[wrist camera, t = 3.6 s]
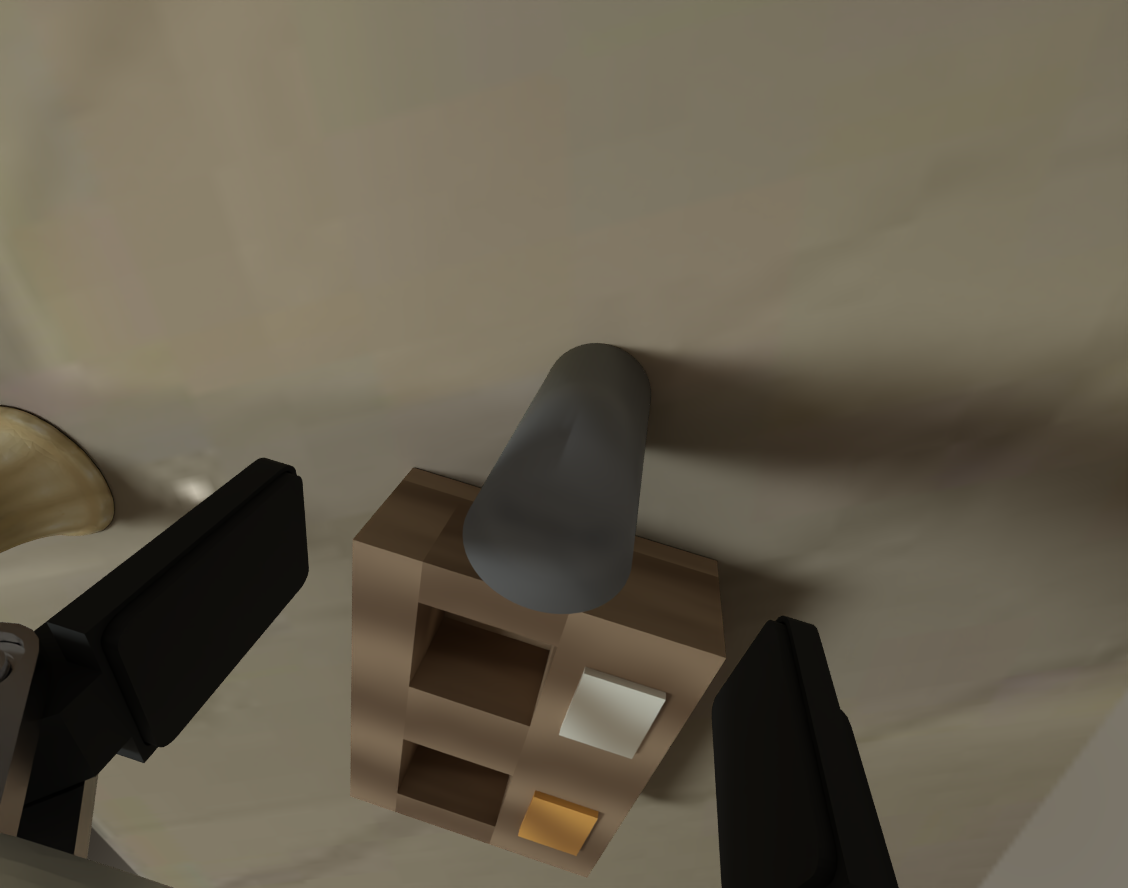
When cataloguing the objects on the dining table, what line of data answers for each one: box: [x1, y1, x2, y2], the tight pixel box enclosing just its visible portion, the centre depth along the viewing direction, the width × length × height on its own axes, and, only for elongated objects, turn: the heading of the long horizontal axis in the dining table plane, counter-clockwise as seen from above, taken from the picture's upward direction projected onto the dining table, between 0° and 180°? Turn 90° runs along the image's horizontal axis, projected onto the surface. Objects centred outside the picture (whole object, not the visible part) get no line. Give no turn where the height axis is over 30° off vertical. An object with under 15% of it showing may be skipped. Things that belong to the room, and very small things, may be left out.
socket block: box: [350, 468, 726, 877], centre depth 26 cm, size 20×14×5 cm
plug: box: [463, 343, 651, 614], centre depth 16 cm, size 4×4×9 cm
